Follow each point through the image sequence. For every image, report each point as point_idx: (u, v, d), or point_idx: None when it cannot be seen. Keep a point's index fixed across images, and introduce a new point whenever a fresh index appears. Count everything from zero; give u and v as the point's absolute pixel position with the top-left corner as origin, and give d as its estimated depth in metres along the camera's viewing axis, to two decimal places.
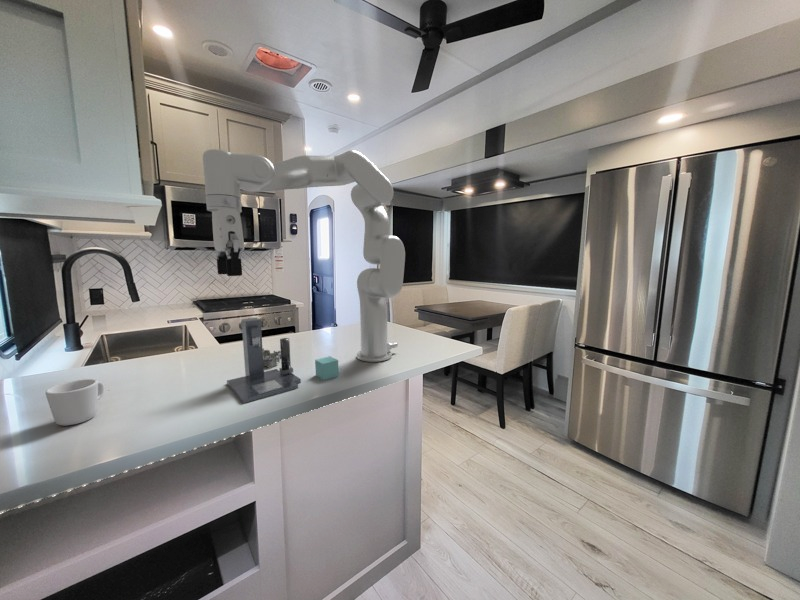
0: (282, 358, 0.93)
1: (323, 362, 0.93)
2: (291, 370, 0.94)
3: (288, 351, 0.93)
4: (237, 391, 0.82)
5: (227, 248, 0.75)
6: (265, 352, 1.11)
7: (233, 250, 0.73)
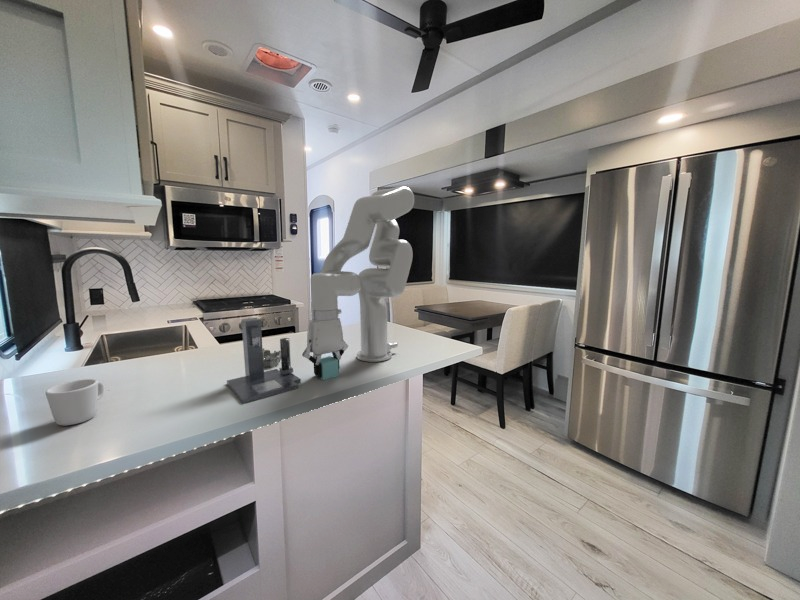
0: (282, 358, 0.93)
1: (323, 362, 0.93)
2: (291, 370, 0.94)
3: (288, 351, 0.93)
4: (237, 391, 0.82)
5: None
6: (266, 352, 1.11)
7: None
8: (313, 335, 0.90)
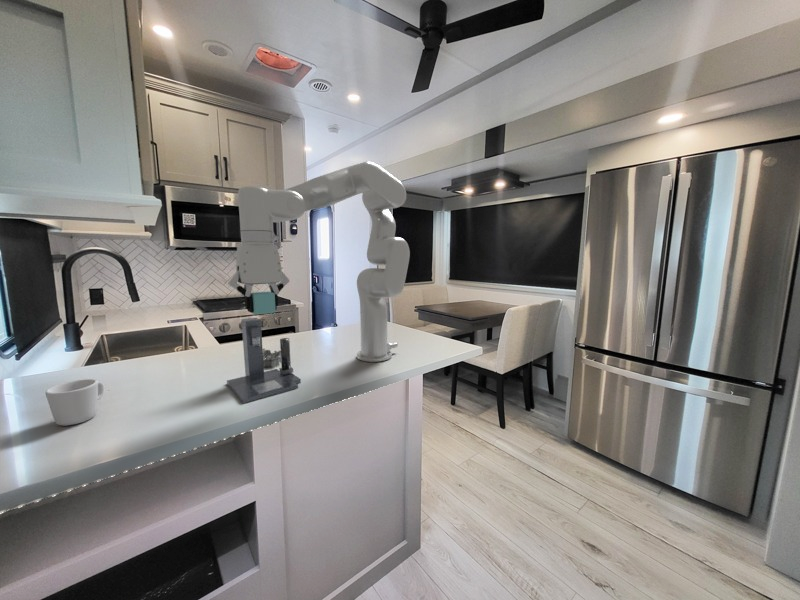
0: (282, 358, 0.93)
1: (255, 294, 0.79)
2: (291, 370, 0.94)
3: (288, 351, 0.93)
4: (237, 391, 0.82)
5: None
6: (266, 352, 1.11)
7: None
8: (240, 259, 0.76)
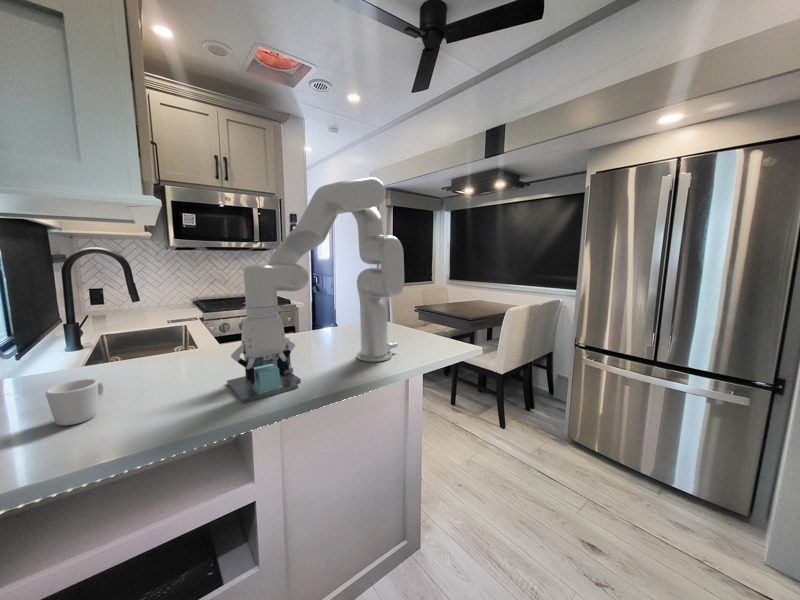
0: None
1: (260, 371, 0.82)
2: (291, 370, 0.94)
3: None
4: (237, 391, 0.82)
5: None
6: None
7: None
8: (246, 335, 0.78)
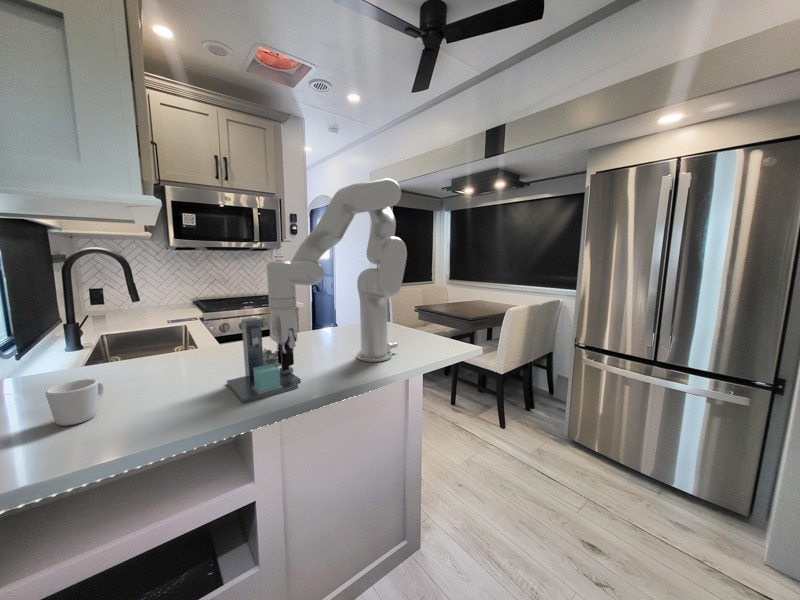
0: None
1: (260, 371, 0.82)
2: (291, 370, 0.94)
3: None
4: (237, 391, 0.82)
5: None
6: (267, 352, 1.11)
7: None
8: (295, 322, 0.90)
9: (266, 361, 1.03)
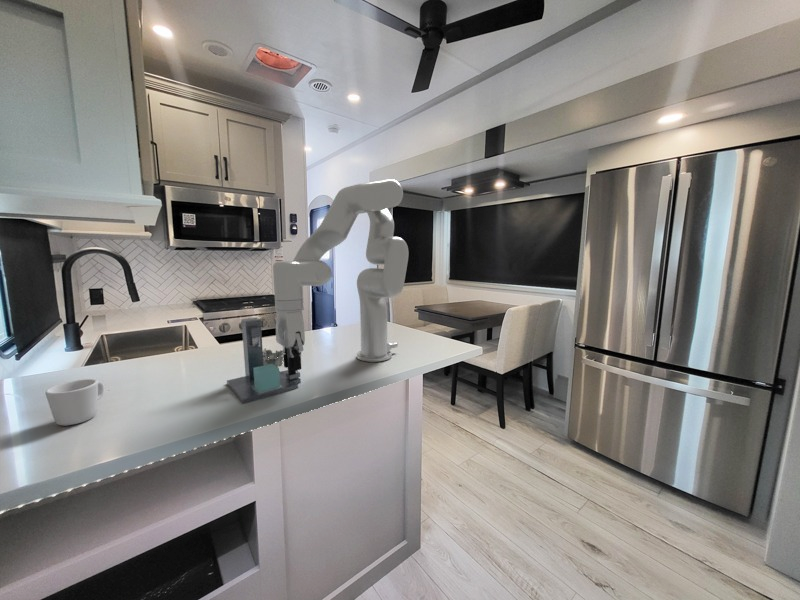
0: None
1: (260, 371, 0.82)
2: (298, 375, 0.91)
3: None
4: (237, 391, 0.82)
5: None
6: (267, 352, 1.11)
7: None
8: (302, 325, 0.87)
9: (267, 361, 1.03)
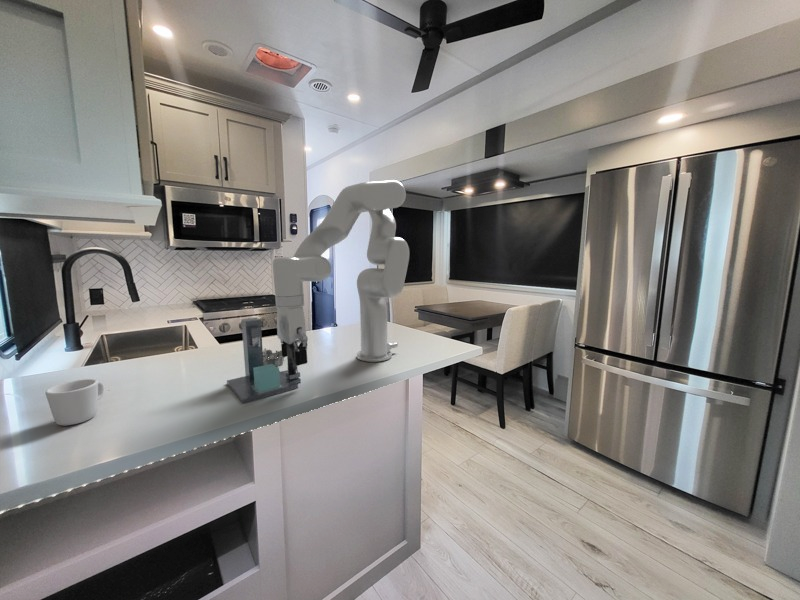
0: (289, 362, 0.89)
1: (260, 371, 0.82)
2: (298, 375, 0.91)
3: None
4: (237, 391, 0.82)
5: None
6: (267, 352, 1.11)
7: None
8: (303, 320, 0.87)
9: (267, 361, 1.03)
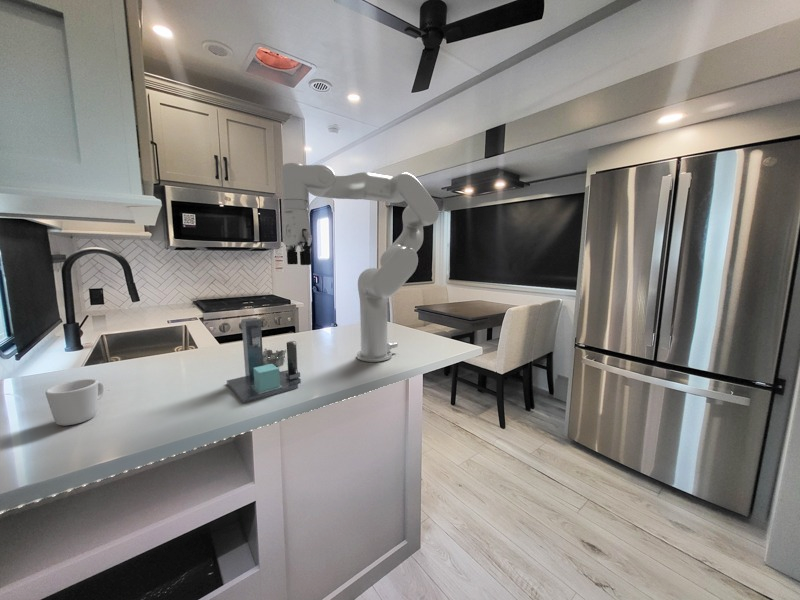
0: (289, 362, 0.89)
1: (260, 371, 0.82)
2: (298, 375, 0.91)
3: (295, 355, 0.90)
4: (237, 391, 0.82)
5: None
6: (268, 352, 1.11)
7: None
8: (308, 224, 0.94)
9: (268, 361, 1.03)
